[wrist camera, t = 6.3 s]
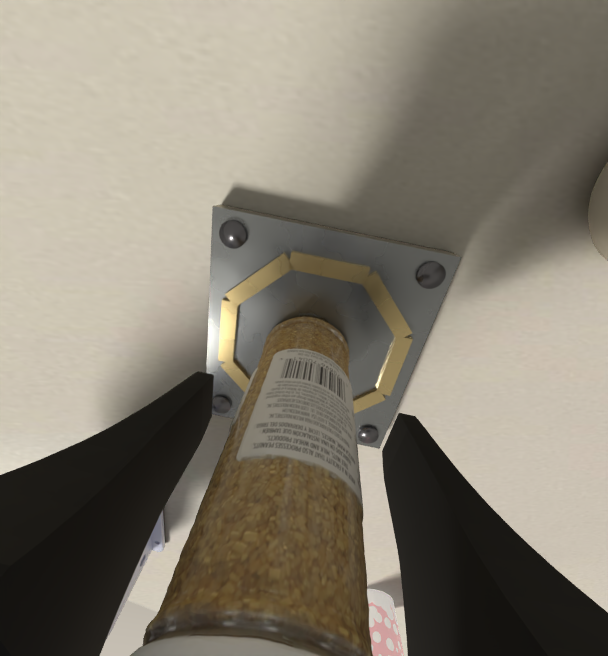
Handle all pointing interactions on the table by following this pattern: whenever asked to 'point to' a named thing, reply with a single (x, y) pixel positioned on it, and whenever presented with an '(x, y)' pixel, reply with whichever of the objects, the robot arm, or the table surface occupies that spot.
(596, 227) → the plastic bottle
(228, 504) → the sprinkles bottle
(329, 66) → the table surface
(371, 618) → the beverage cup
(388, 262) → the octagon fixture plate
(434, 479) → the robot arm
